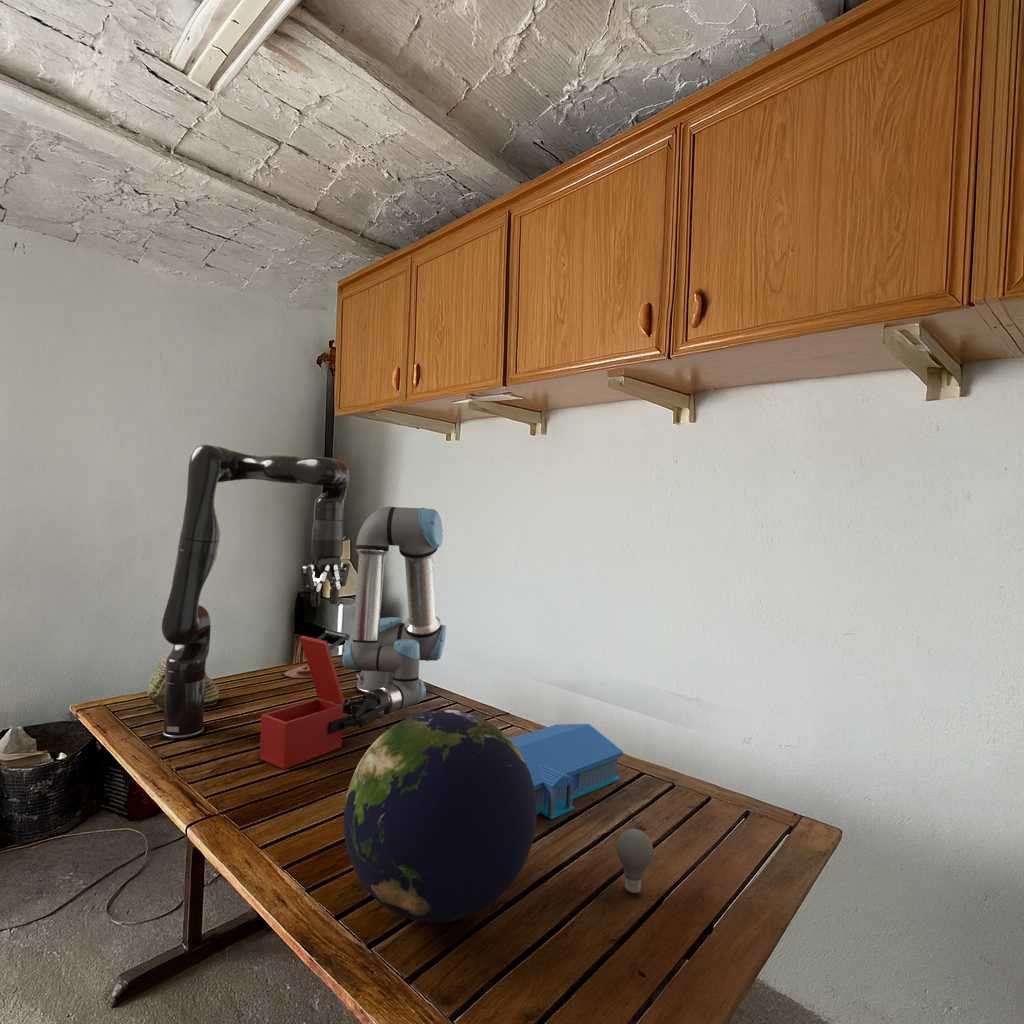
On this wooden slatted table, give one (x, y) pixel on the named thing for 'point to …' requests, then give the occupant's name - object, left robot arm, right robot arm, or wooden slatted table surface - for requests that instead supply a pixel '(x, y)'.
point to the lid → (324, 665)
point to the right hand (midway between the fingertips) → (316, 723)
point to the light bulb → (634, 857)
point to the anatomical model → (299, 672)
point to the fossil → (158, 687)
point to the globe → (440, 816)
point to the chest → (299, 732)
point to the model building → (567, 764)
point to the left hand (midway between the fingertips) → (324, 604)
